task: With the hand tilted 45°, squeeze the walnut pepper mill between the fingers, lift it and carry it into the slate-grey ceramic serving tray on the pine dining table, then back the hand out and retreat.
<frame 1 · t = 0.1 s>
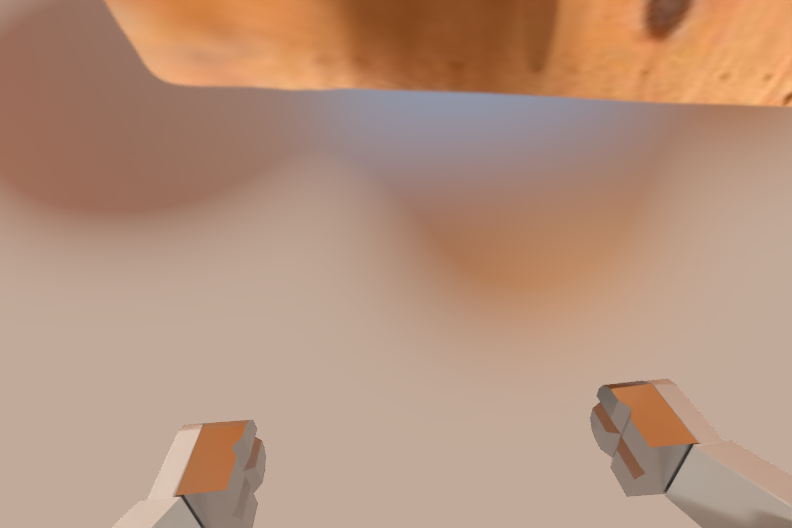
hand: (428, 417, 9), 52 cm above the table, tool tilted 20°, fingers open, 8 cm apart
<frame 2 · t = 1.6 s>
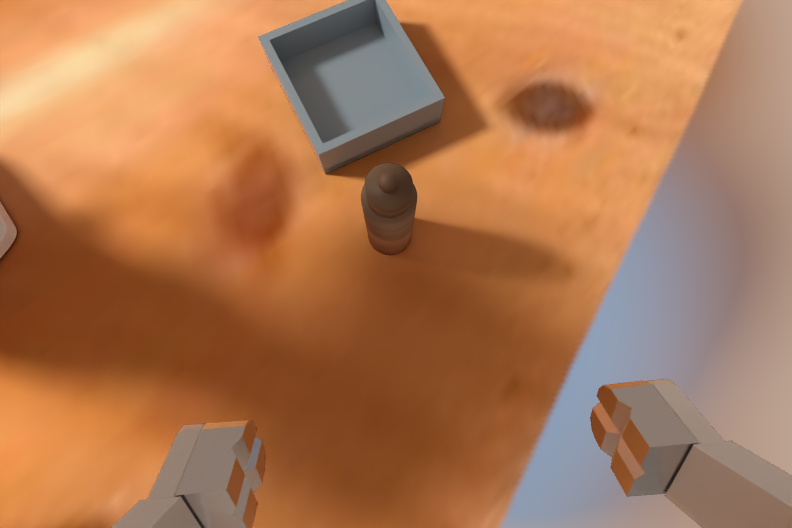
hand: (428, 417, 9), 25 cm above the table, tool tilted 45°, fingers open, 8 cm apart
pepper mill: (389, 234, 37), on the table
serving tray: (353, 93, 40), on the table
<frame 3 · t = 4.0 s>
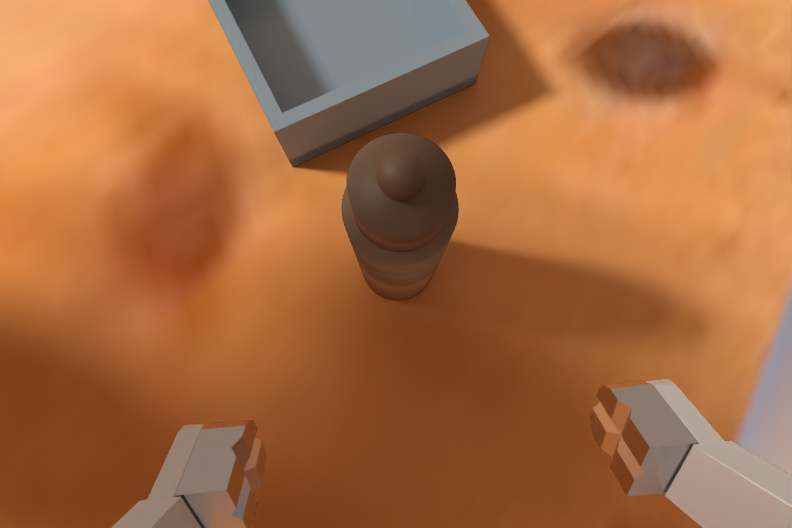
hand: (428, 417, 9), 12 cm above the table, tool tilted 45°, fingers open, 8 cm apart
pepper mill: (397, 265, 22), on the table
serving tray: (338, 40, 26), on the table
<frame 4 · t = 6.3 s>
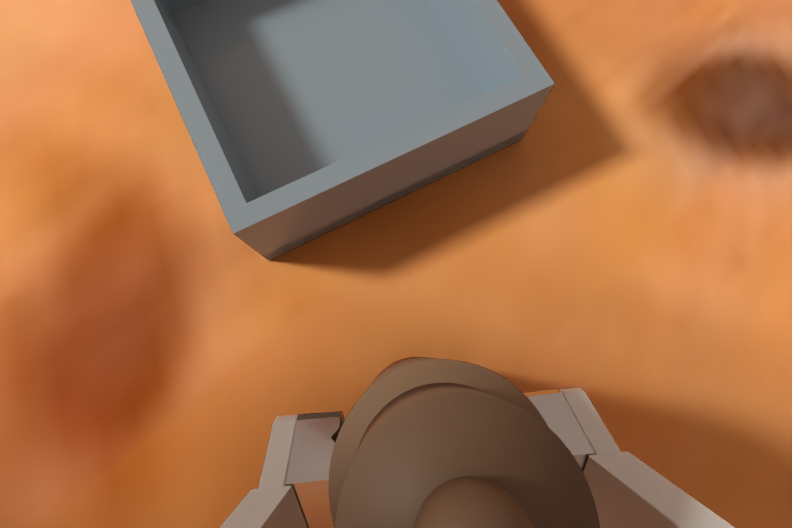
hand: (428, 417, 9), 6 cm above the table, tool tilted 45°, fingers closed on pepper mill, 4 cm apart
pepper mill: (416, 409, 15), on the table, touching gripper
serving tray: (334, 78, 19), on the table
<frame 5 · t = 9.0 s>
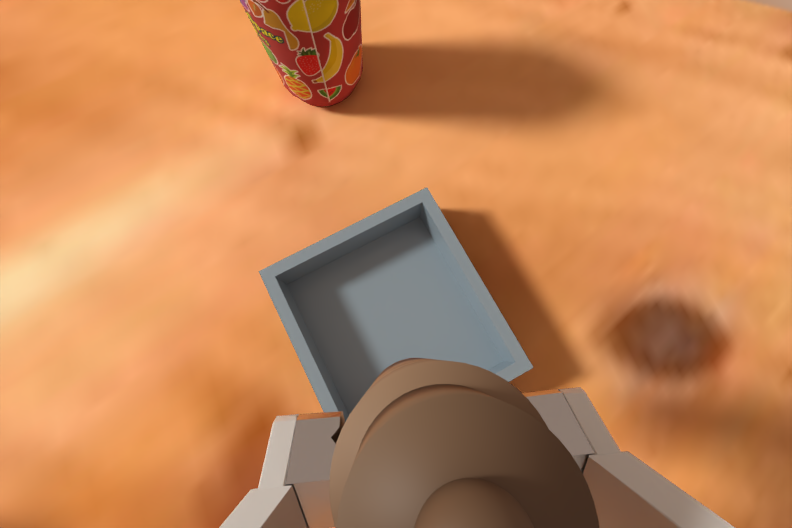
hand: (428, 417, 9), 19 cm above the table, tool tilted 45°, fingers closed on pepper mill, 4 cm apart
pepper mill: (416, 409, 15), point 13 cm above the table, touching gripper
smoothie: (324, 79, 34), on the table
serving tray: (392, 322, 29), on the table
when the fingers open (9 cm above the table, at t = 11.7 s): pepper mill drops 1 cm, resting on serving tray.
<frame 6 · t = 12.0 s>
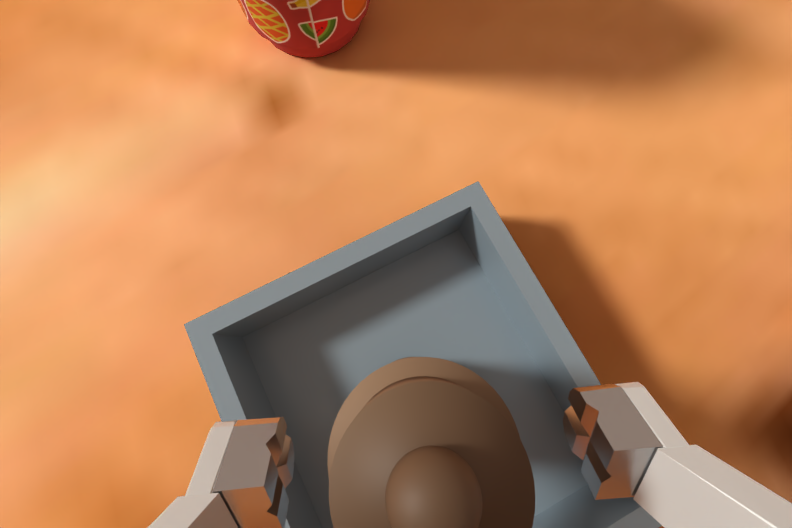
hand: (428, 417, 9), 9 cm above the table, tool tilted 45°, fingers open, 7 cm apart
pepper mill: (414, 404, 17), point 1 cm above the table, touching serving tray
smoothie: (312, 19, 23), on the table
serving tray: (414, 402, 18), on the table
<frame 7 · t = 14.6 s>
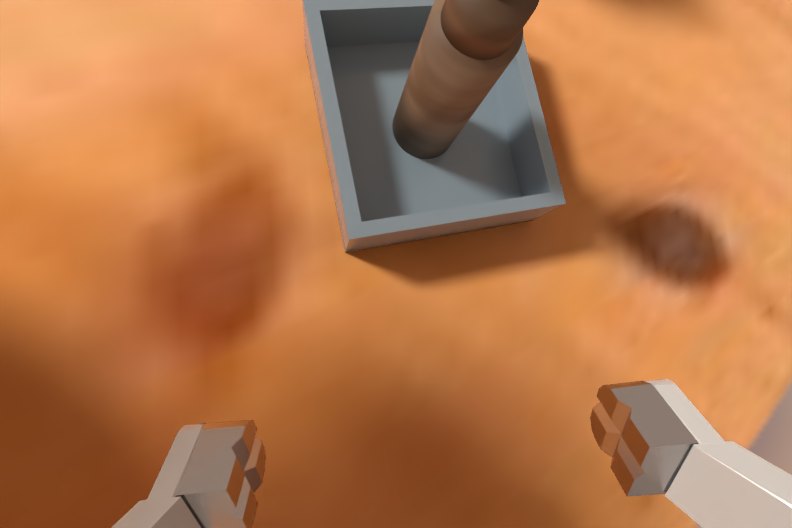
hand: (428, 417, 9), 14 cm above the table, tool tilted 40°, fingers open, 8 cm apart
pepper mill: (423, 128, 25), point 1 cm above the table, touching serving tray
serving tray: (421, 134, 26), on the table
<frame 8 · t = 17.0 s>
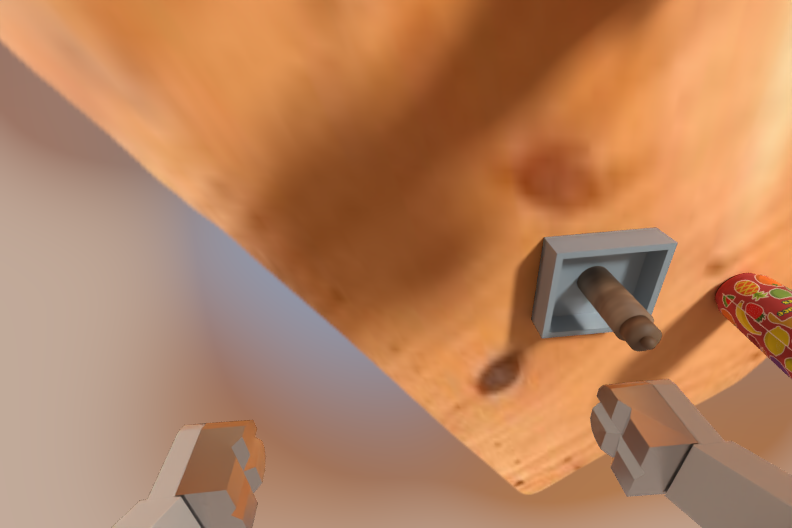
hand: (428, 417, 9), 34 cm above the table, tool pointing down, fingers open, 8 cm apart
pepper mill: (593, 279, 50), point 1 cm above the table, touching serving tray
smoothie: (735, 289, 53), on the table
serving tray: (589, 276, 50), on the table
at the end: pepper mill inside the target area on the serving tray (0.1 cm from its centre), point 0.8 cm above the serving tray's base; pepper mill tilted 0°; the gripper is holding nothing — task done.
